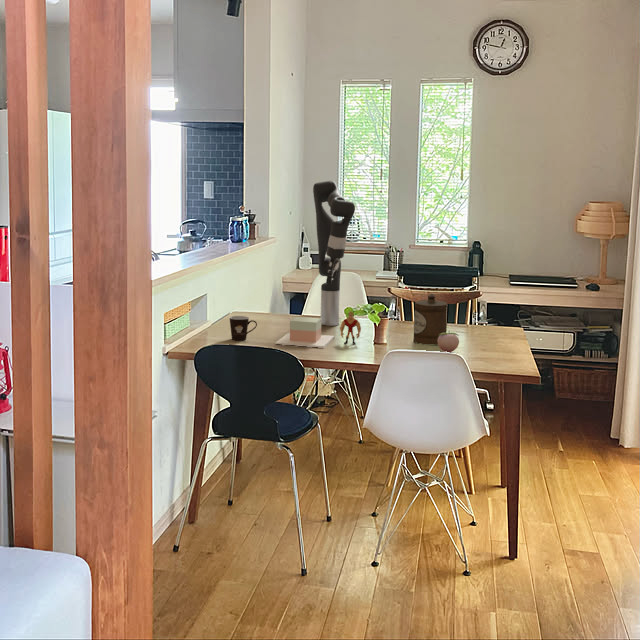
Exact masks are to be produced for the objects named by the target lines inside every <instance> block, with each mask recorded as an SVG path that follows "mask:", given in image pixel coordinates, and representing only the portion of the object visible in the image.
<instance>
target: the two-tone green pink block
mask: <svg viewBox="0 0 640 640" xmlns="http://www.w3.org/2000/svg"><path fill="white" fill-rule="evenodd" d="M334 339H335V335H328V334H327V335H324V334H322V324H321V318H320V317H319V318H318V317H308V316H307V317H305V316H295V317H293V318H292V319H291V320H289V332H287V333H286V334H285V335H283V336H282V337H281V338H279V339H278V340H277V341H275V344H282V345H281V346H285V345H298V346H307V347H306V348H312V347H318V348H317V349H325V348H326V347H327V346H328V345H329V344H330V343H331V342H332V341H334ZM298 346H297V347H298Z"/></svg>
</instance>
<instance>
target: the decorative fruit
mask: <svg viewBox="0 0 640 640" xmlns="http://www.w3.org/2000/svg"><path fill="white" fill-rule="evenodd" d="M459 335H460V334H458V333H456V332H450V330H448V332H446V333H441V334H440V335H439V338H438V341H437V342H438V345H437V346H438V348H440V350H442V352H444V351H447V352H449V353H451V352H454V351H455V350H457V348H458V346H459V345H460V339H459Z"/></svg>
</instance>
